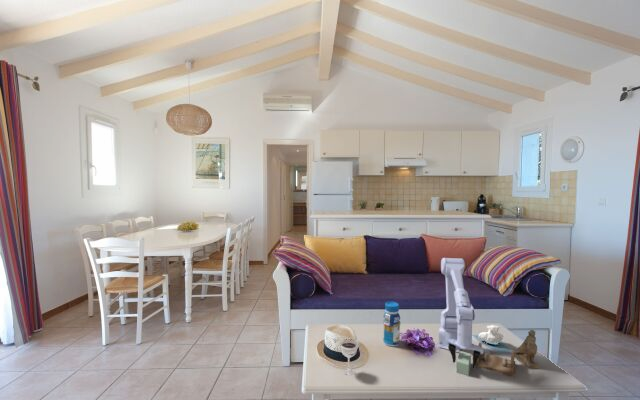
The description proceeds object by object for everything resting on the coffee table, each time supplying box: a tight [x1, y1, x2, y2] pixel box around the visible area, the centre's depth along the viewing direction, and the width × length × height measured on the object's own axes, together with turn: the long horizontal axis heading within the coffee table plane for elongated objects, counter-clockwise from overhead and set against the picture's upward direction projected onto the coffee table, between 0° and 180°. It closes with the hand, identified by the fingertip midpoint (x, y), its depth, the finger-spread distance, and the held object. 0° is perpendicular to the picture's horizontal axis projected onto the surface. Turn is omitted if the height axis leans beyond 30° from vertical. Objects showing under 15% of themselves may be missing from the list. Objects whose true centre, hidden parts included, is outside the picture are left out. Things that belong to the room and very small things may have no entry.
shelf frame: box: [475, 341, 516, 378], centre depth 134 cm, size 15×12×6 cm
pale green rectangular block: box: [456, 350, 472, 377], centre depth 132 cm, size 10×4×5 cm, turn 148°
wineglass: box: [340, 339, 358, 376], centre depth 128 cm, size 7×7×12 cm
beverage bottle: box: [382, 301, 401, 347], centre depth 153 cm, size 8×8×20 cm
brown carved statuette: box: [513, 329, 539, 370], centre depth 136 cm, size 12×6×18 cm, turn 176°
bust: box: [477, 324, 504, 343], centre depth 152 cm, size 12×8×11 cm
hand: (463, 364), depth 132 cm, fingers open, 7 cm apart
